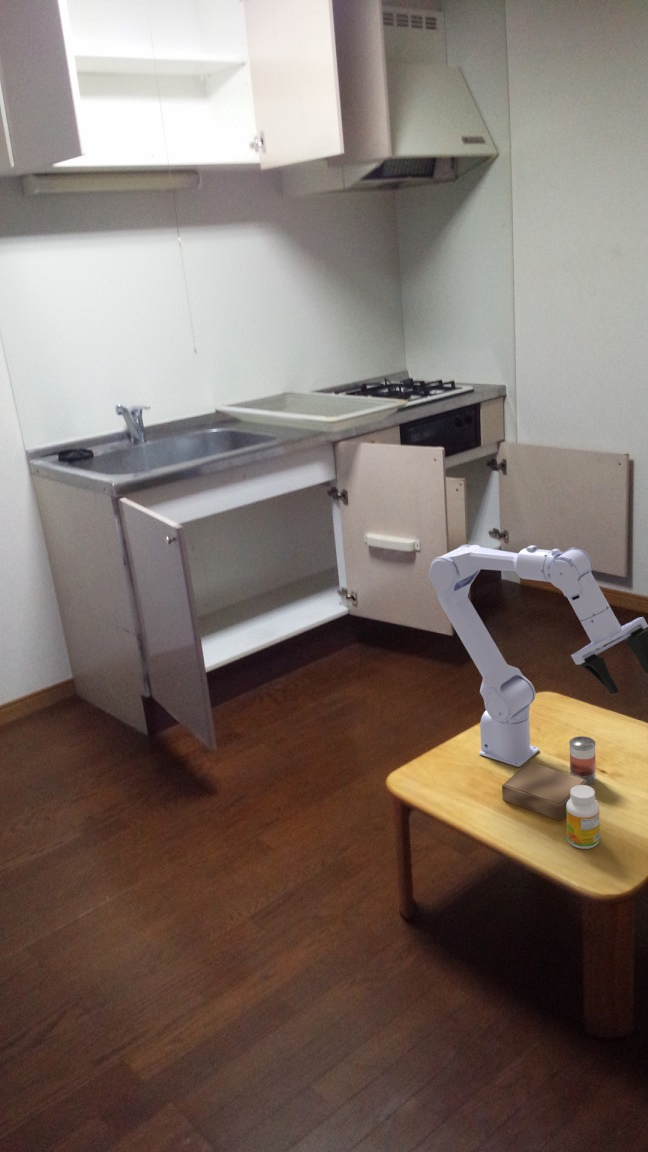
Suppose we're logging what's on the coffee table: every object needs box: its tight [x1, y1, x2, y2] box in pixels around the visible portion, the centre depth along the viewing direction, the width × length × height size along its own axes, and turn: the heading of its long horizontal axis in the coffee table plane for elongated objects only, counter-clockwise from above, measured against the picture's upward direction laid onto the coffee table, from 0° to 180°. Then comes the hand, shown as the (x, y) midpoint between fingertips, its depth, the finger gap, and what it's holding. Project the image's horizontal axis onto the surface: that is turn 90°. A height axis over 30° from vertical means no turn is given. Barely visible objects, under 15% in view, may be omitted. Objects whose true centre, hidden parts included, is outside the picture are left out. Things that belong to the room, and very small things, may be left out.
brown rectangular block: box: [501, 761, 588, 821], centre depth 166 cm, size 12×10×3 cm
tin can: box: [569, 735, 597, 787], centre depth 170 cm, size 5×5×8 cm
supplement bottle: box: [566, 785, 601, 850], centre depth 152 cm, size 5×5×10 cm
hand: (632, 682), depth 158 cm, fingers open, 7 cm apart
